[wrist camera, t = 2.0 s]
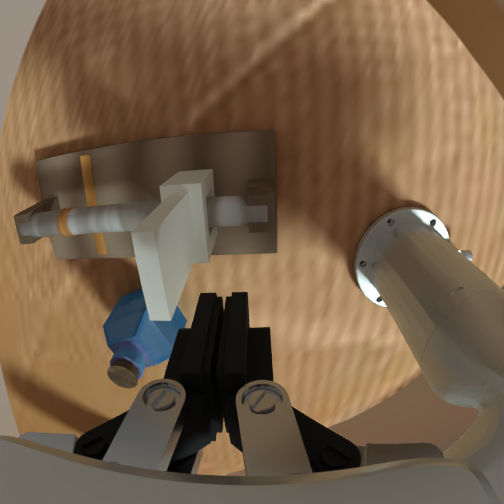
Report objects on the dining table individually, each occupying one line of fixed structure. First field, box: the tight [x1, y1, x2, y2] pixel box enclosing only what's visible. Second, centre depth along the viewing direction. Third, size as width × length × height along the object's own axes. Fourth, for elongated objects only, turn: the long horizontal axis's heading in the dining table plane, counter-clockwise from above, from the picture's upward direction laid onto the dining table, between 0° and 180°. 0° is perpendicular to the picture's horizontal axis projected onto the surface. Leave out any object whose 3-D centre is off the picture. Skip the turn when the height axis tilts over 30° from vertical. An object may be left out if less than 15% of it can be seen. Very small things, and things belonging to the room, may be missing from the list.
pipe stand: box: [14, 130, 277, 259], centre depth 28 cm, size 26×12×8 cm, turn 92°
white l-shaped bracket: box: [131, 169, 218, 321], centre depth 22 cm, size 3×6×14 cm, turn 2°
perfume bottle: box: [103, 288, 187, 388], centre depth 32 cm, size 6×6×12 cm
